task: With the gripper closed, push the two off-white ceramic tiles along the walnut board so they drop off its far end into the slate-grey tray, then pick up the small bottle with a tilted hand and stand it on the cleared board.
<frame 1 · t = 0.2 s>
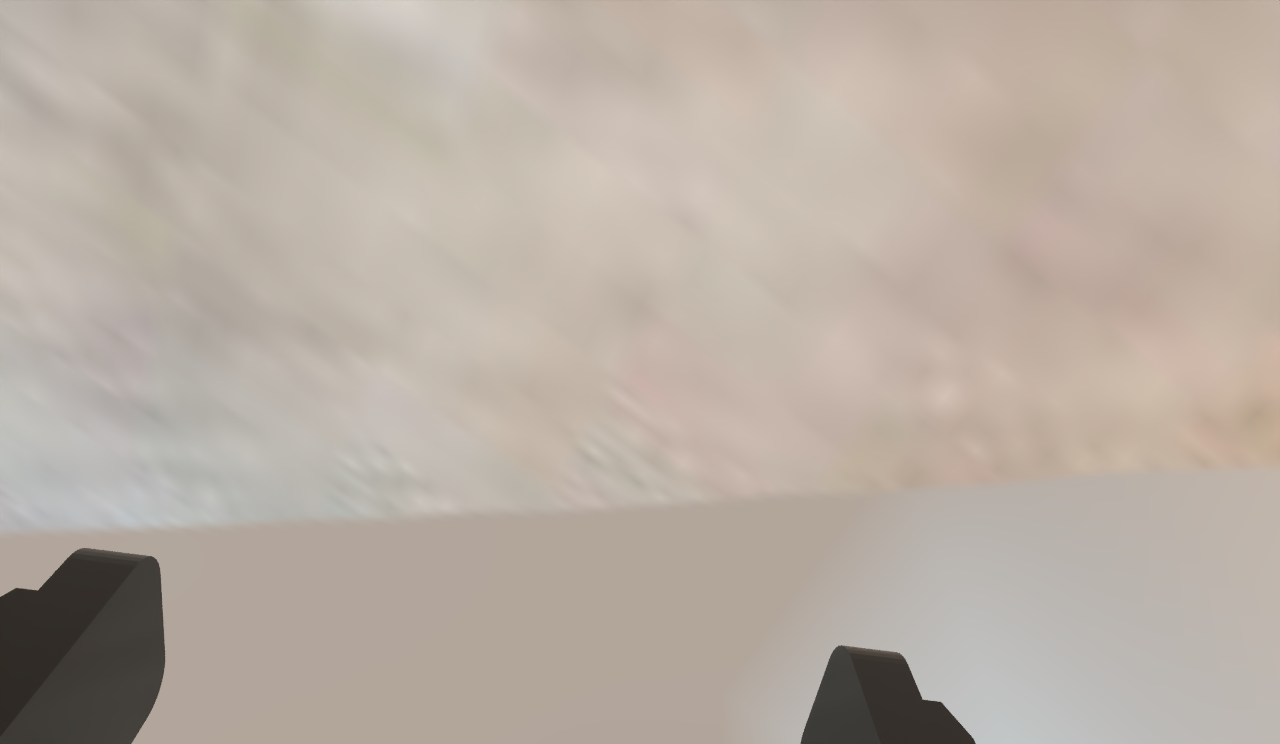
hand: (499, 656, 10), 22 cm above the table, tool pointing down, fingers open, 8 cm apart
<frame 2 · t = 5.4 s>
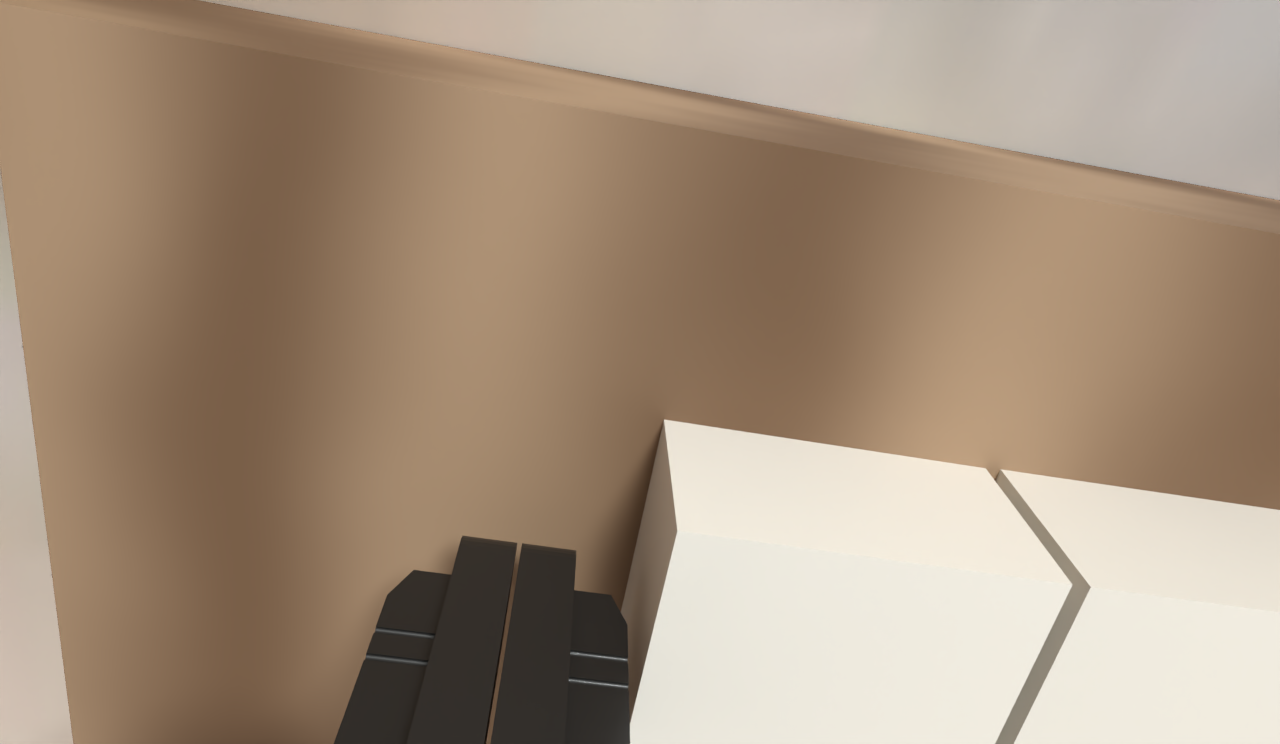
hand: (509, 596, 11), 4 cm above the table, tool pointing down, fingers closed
tile b: (1089, 616, 13), point 3 cm above the table, touching board
tile a: (785, 577, 13), point 3 cm above the table, touching board, gripper
board: (682, 444, 16), on the table
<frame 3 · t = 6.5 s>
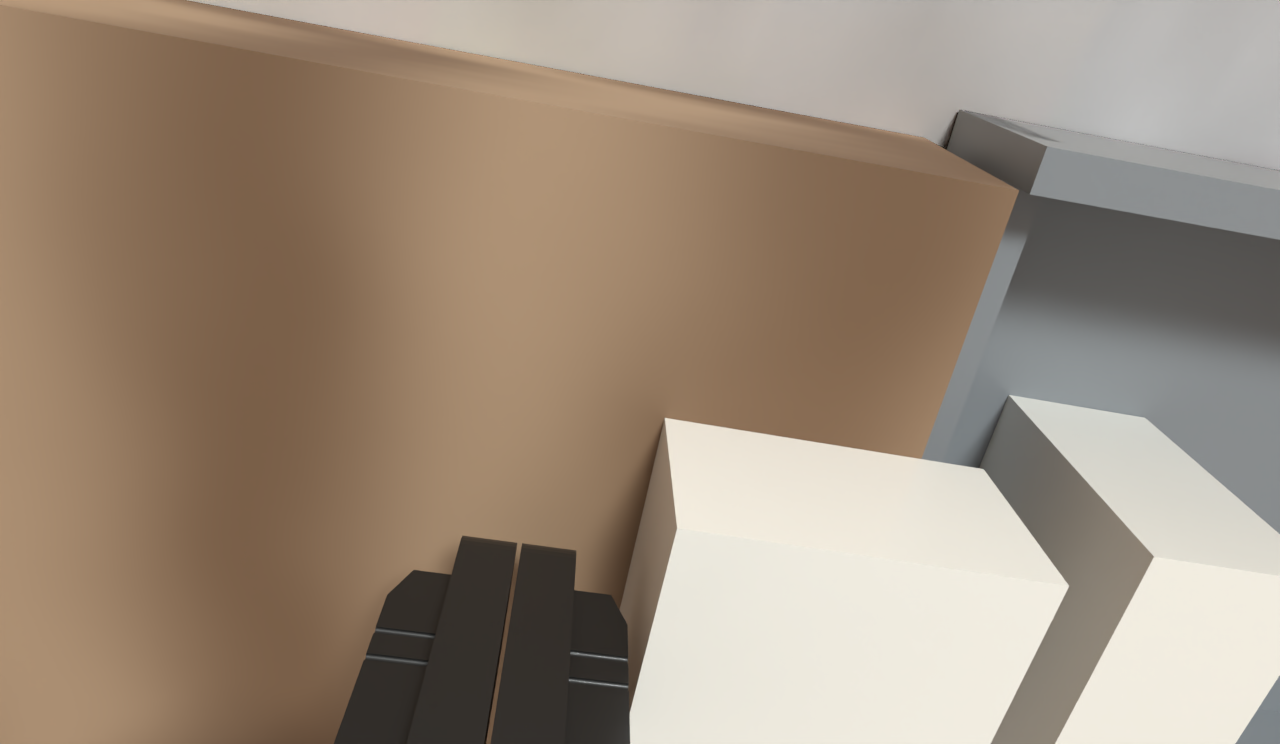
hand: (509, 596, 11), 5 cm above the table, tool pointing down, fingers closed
tray: (1172, 468, 16), on the table
tile b: (1014, 584, 14), point 3 cm above the table, tilted 89°, touching tray
tile a: (784, 576, 13), point 4 cm above the table, touching board, gripper
board: (323, 393, 15), on the table
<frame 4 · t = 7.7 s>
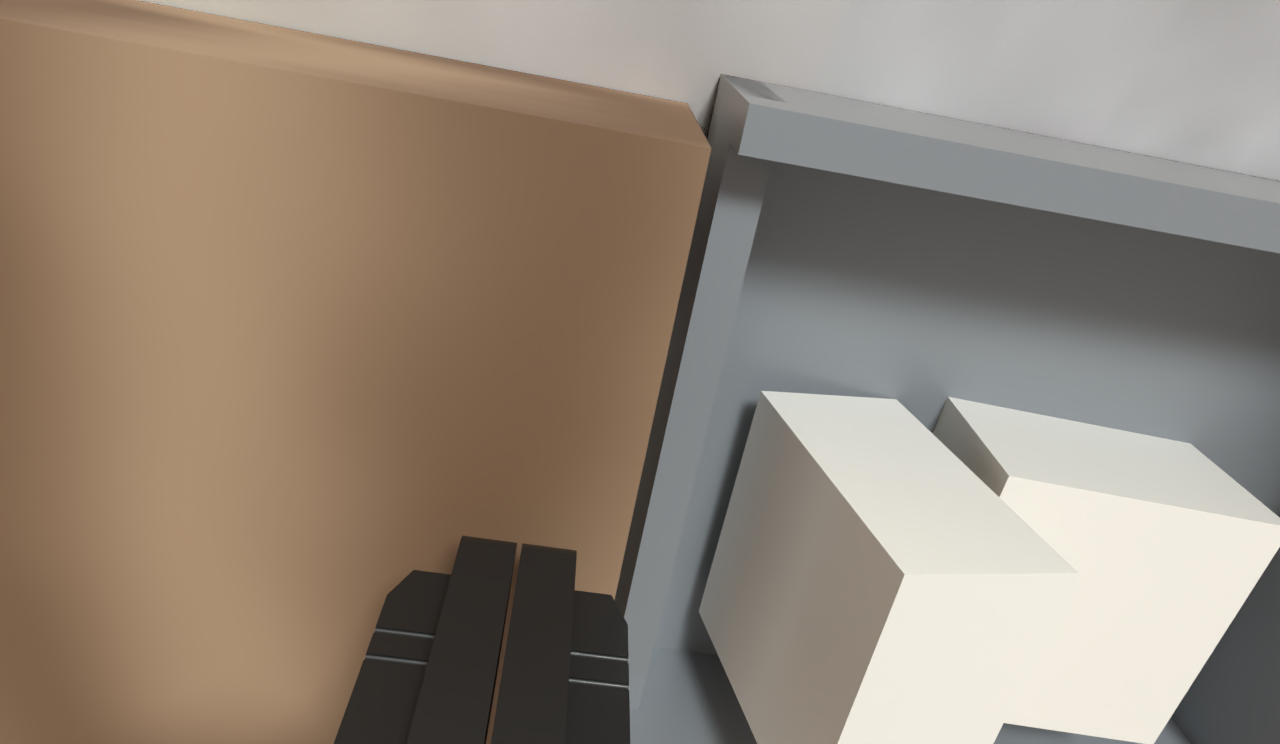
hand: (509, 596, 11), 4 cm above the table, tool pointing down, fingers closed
tray: (982, 451, 16), on the table
tile b: (1087, 622, 14), point 3 cm above the table, tilted 180°, touching tray
tile a: (778, 597, 13), point 3 cm above the table, tilted 103°, touching tray
board: (90, 370, 15), on the table
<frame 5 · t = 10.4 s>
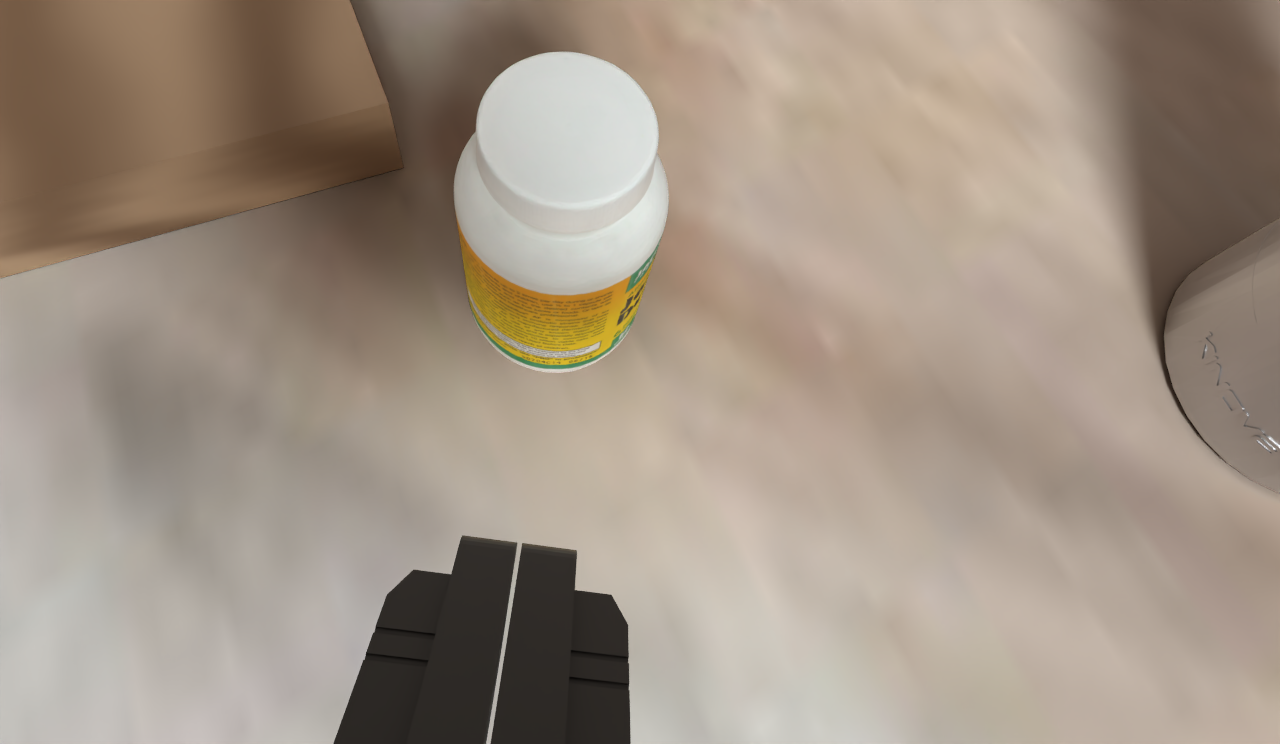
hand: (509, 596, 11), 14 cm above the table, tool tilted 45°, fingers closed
board: (72, 87, 28), on the table
supplement bottle: (553, 301, 28), on the table
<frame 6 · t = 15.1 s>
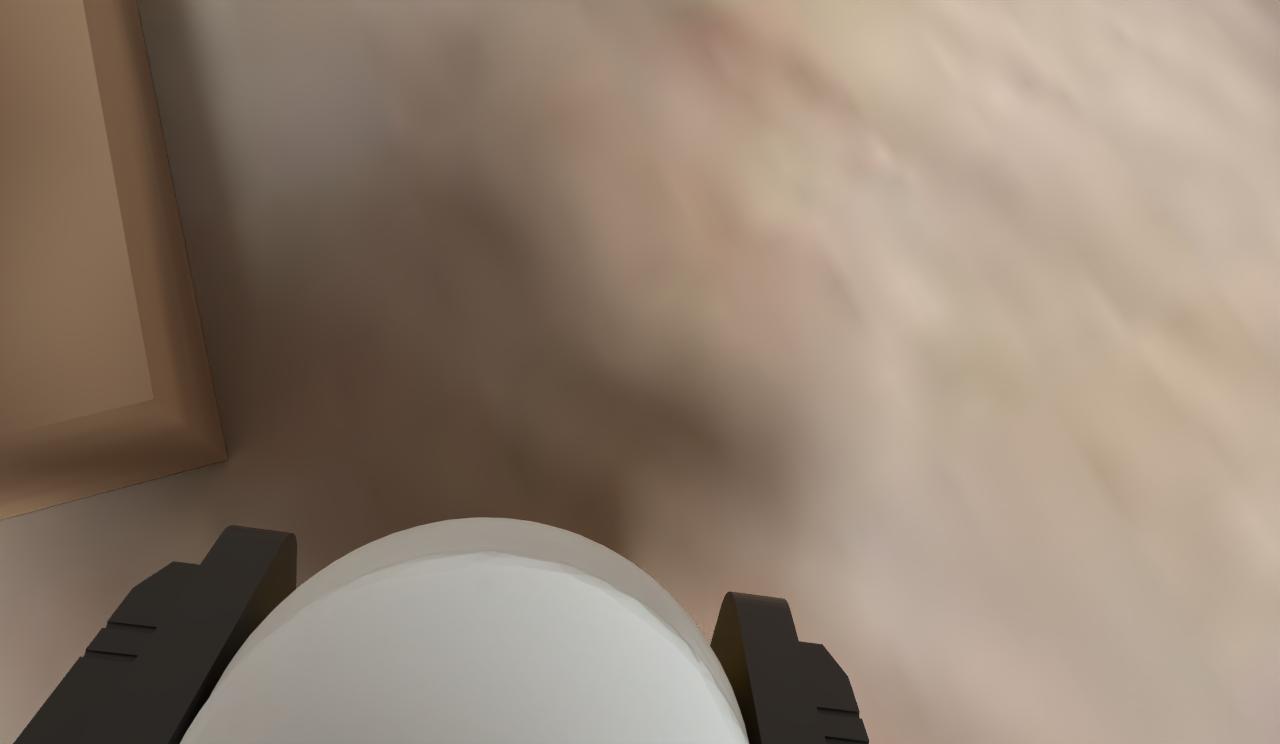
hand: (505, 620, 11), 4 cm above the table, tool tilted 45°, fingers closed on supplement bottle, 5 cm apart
when the fingers open (9 cm above the table, at t = 19.5 s): supplement bottle drops 1 cm, resting on board.
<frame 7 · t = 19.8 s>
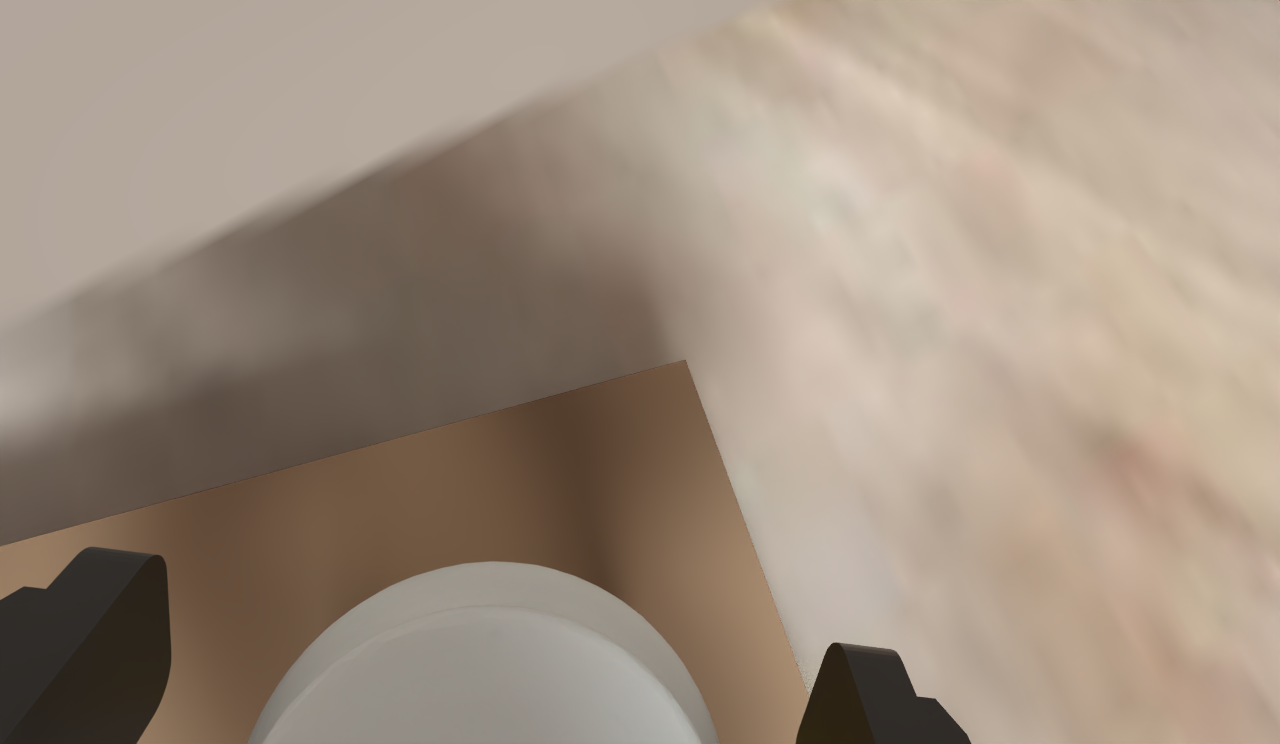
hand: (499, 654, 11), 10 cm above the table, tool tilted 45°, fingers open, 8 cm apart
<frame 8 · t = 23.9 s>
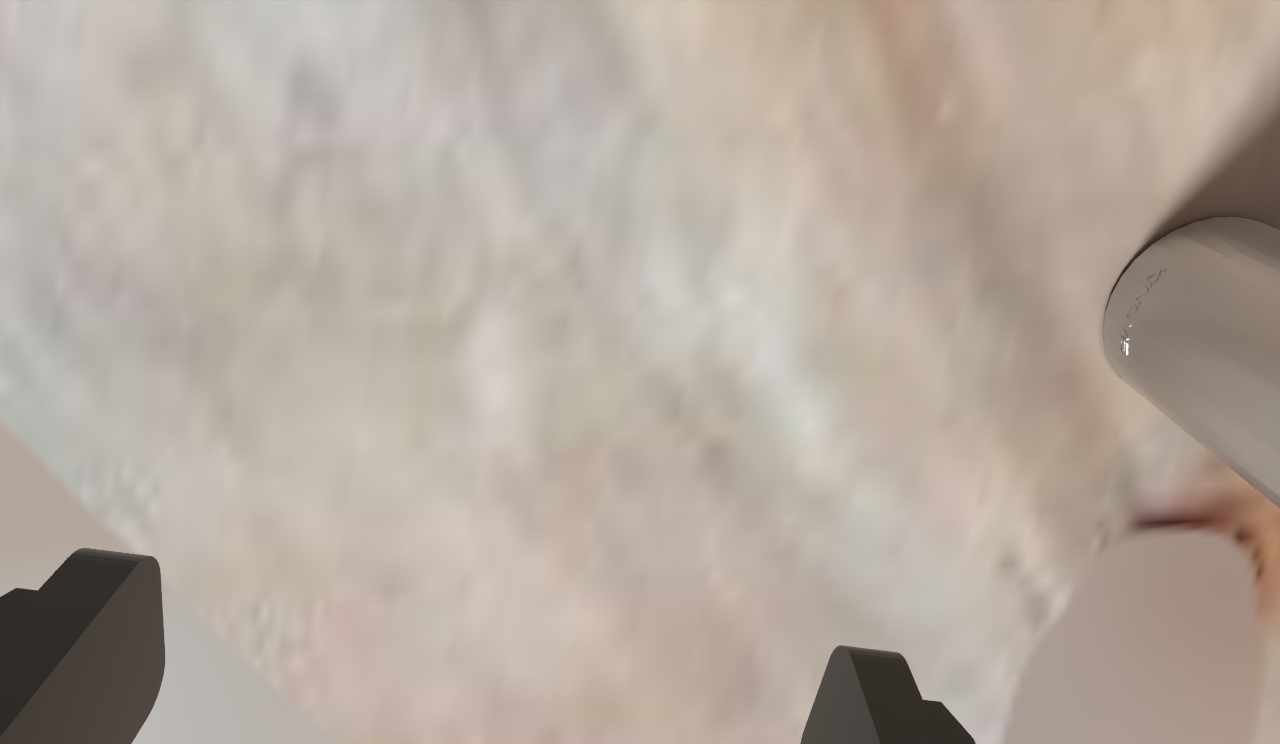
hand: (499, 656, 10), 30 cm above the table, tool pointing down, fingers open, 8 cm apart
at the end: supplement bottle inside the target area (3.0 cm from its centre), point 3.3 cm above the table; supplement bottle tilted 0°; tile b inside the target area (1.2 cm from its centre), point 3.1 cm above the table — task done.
